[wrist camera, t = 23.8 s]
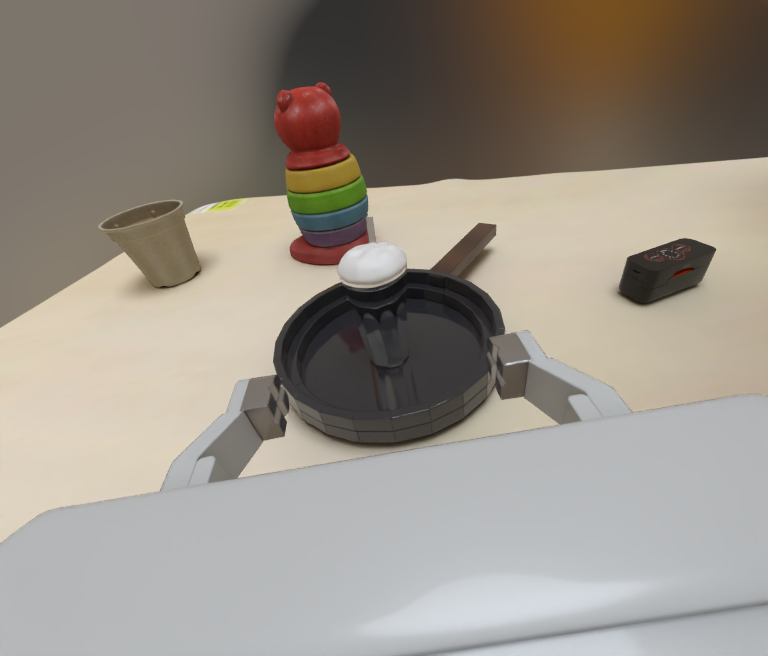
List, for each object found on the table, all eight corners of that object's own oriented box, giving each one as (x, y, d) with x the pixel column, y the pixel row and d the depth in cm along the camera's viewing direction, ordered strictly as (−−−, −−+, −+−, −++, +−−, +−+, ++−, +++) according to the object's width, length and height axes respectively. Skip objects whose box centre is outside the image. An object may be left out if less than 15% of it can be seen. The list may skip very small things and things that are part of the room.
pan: (370, 281, 38) (365, 256, 37) (534, 321, 29) (538, 291, 27) (243, 388, 28) (227, 361, 26) (430, 500, 19) (426, 470, 17)
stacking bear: (349, 224, 52) (317, 79, 41) (394, 240, 46) (370, 72, 35) (285, 254, 48) (230, 99, 37) (325, 276, 41) (272, 95, 30)
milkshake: (416, 326, 30) (402, 211, 24) (419, 371, 26) (403, 246, 20) (364, 331, 31) (337, 221, 25) (358, 376, 26) (324, 256, 20)
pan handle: (446, 288, 32) (445, 277, 31) (427, 284, 33) (426, 273, 32) (496, 235, 38) (496, 224, 38) (478, 233, 40) (478, 222, 39)
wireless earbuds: (711, 281, 30) (728, 246, 28) (642, 308, 28) (654, 272, 26) (659, 260, 33) (671, 227, 31) (596, 282, 32) (604, 249, 30)
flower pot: (186, 256, 53) (154, 198, 47) (228, 262, 48) (198, 199, 43) (126, 289, 47) (82, 227, 41) (168, 300, 42) (125, 232, 37)
